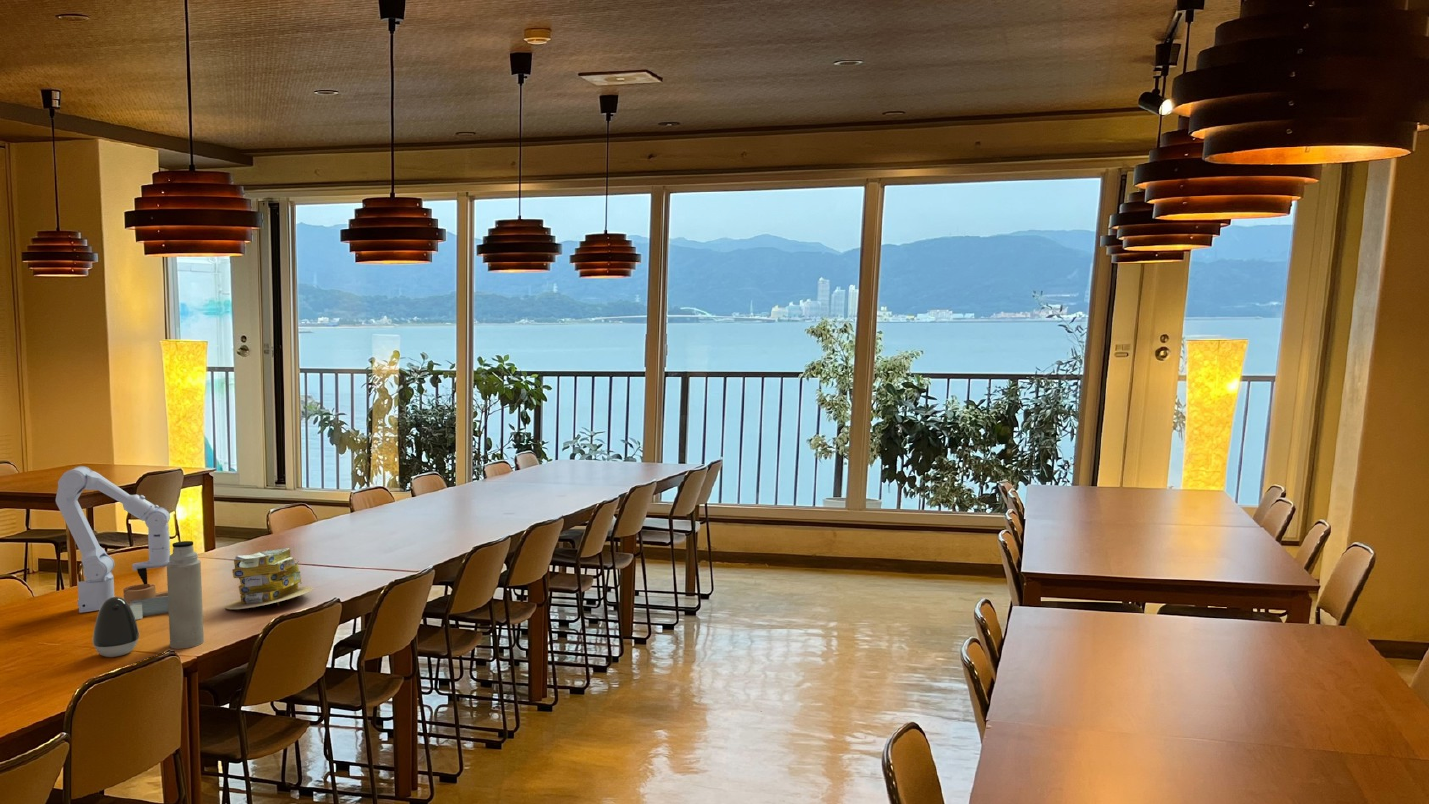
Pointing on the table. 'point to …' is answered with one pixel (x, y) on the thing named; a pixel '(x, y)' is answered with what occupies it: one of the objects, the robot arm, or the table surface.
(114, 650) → the grey white egg device
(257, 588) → the stacked boxes on plate
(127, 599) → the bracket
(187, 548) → the thermos bottle
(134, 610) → the bar
